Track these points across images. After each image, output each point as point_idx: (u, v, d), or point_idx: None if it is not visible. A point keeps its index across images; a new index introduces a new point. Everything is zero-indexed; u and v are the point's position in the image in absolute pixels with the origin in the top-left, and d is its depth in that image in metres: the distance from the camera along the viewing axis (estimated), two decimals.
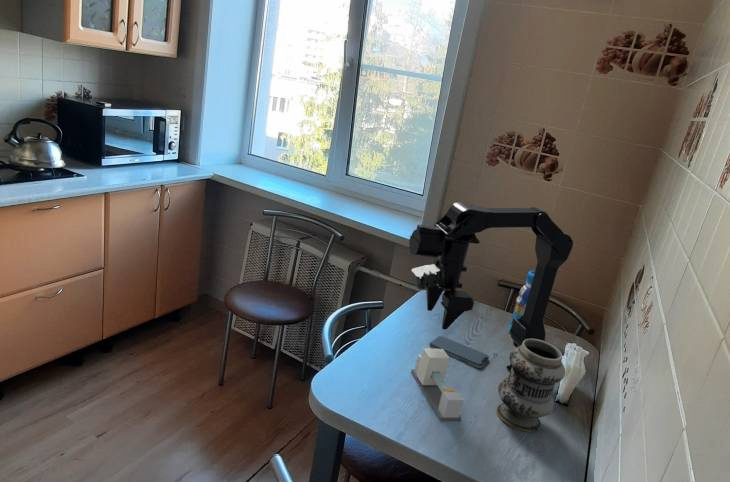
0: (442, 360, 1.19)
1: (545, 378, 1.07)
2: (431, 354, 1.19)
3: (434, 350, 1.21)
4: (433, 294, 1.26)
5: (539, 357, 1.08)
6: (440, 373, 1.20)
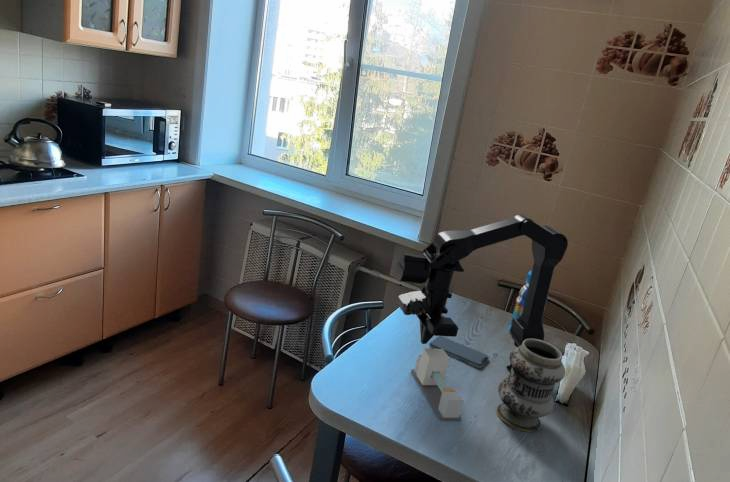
0: (442, 360, 1.19)
1: (545, 378, 1.07)
2: (431, 354, 1.19)
3: (434, 350, 1.21)
4: None
5: (539, 357, 1.08)
6: (440, 373, 1.20)
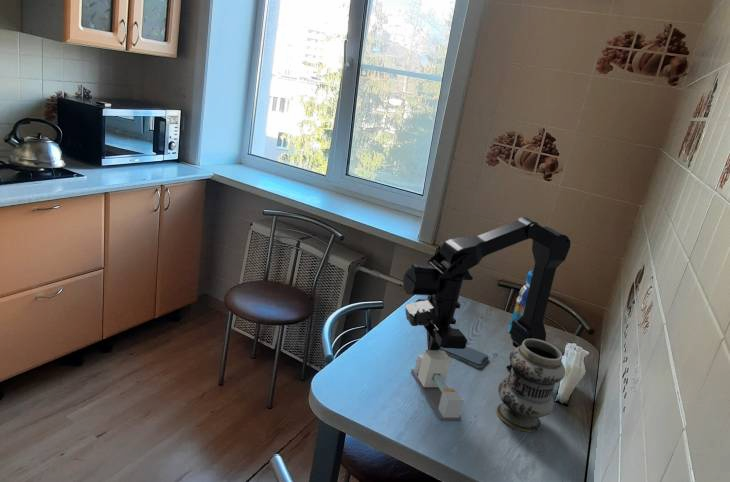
0: (443, 362, 1.18)
1: (545, 378, 1.07)
2: (432, 356, 1.18)
3: (435, 352, 1.20)
4: None
5: (539, 357, 1.08)
6: (441, 375, 1.19)
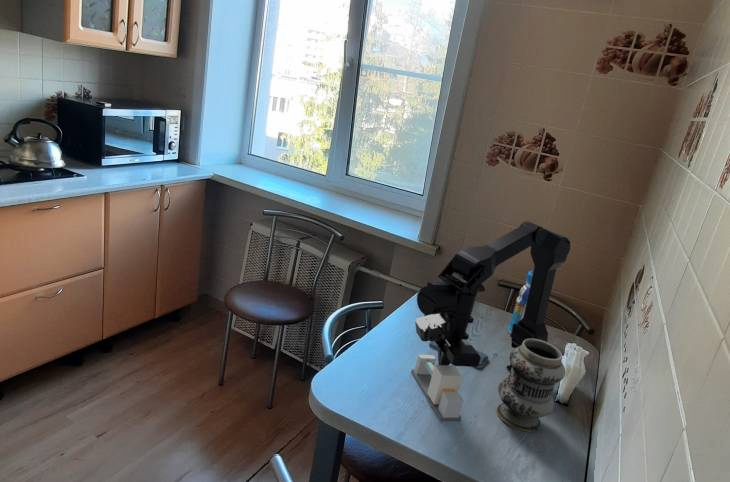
0: (455, 378, 1.12)
1: (545, 378, 1.07)
2: (443, 372, 1.13)
3: (446, 367, 1.15)
4: None
5: (539, 357, 1.08)
6: None
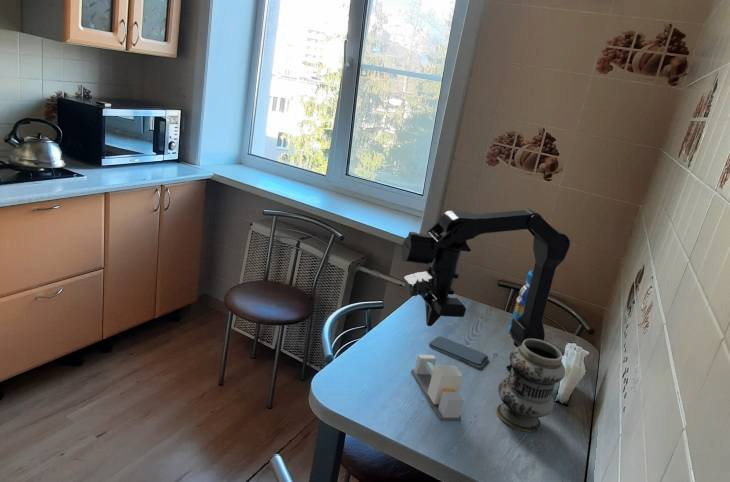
0: (455, 378, 1.12)
1: (545, 378, 1.07)
2: (443, 372, 1.13)
3: (446, 367, 1.15)
4: None
5: (539, 357, 1.08)
6: None
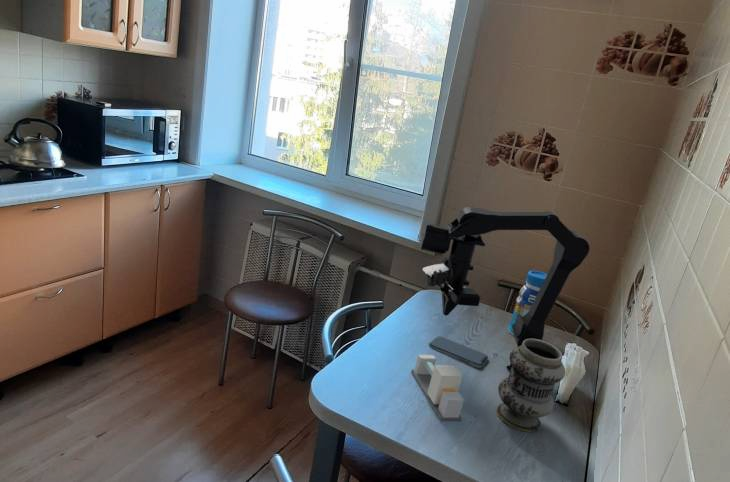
0: (455, 378, 1.12)
1: (545, 378, 1.07)
2: (443, 372, 1.13)
3: (446, 367, 1.15)
4: None
5: (539, 357, 1.08)
6: None
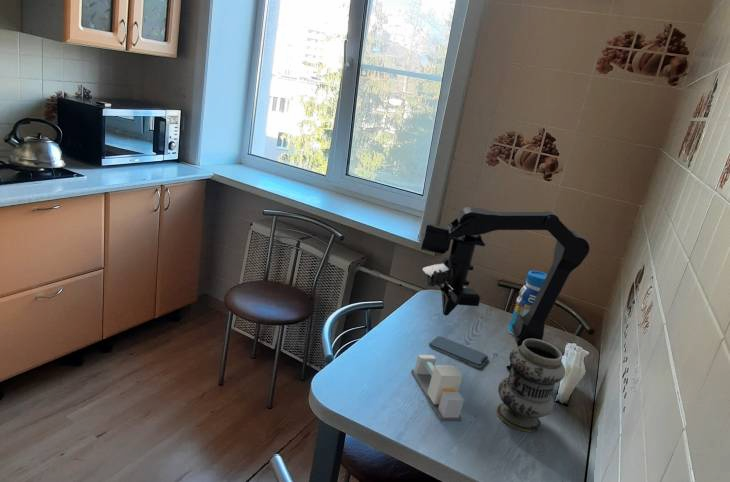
0: (455, 378, 1.12)
1: (545, 378, 1.07)
2: (443, 372, 1.13)
3: (446, 367, 1.15)
4: None
5: (539, 357, 1.08)
6: None
